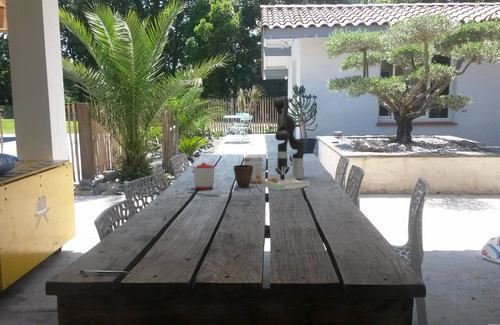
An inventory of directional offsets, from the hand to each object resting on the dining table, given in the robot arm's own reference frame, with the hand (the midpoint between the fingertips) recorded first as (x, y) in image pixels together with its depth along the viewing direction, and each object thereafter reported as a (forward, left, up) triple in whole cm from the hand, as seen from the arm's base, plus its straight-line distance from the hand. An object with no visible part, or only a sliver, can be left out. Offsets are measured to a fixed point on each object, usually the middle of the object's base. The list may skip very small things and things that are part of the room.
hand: (282, 179), depth 371 cm
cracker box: (+11, -25, -5) cm, 28 cm away
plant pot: (+28, -11, -5) cm, 31 cm away
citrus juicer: (+57, -21, -5) cm, 61 cm away
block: (+9, 0, -2) cm, 9 cm away
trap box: (-1, +5, -5) cm, 7 cm away
